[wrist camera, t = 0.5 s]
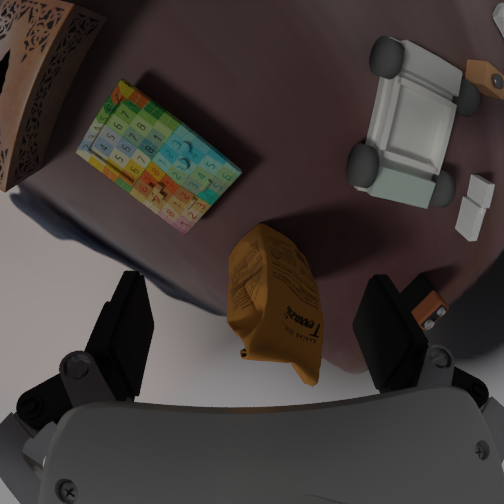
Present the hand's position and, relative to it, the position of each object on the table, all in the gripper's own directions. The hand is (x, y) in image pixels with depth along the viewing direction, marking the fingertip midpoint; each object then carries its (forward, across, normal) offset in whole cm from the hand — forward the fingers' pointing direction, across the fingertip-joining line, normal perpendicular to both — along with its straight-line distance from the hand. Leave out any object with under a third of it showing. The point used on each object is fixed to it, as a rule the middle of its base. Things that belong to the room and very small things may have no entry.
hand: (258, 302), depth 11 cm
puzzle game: (+31, +11, +1) cm, 33 cm away
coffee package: (+30, -5, +18) cm, 35 cm away
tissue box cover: (+31, +32, -13) cm, 46 cm away
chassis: (+30, -24, -7) cm, 39 cm away
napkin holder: (+31, -44, +4) cm, 53 cm away
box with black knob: (+30, -39, -20) cm, 53 cm away
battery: (+30, -37, +24) cm, 53 cm away
